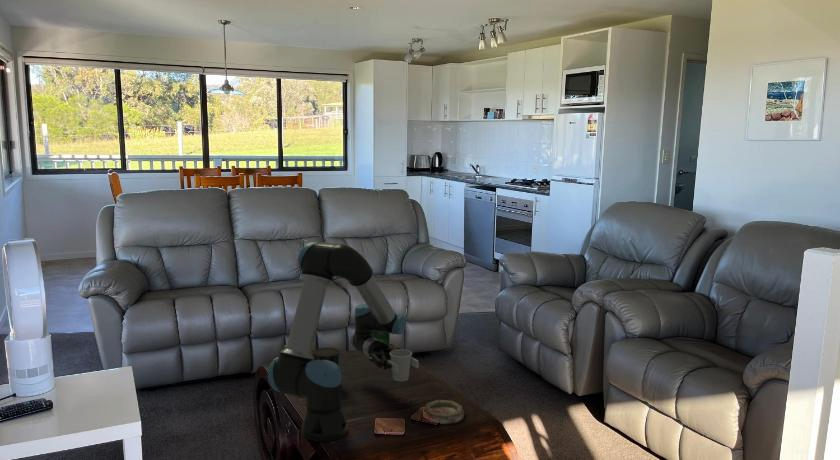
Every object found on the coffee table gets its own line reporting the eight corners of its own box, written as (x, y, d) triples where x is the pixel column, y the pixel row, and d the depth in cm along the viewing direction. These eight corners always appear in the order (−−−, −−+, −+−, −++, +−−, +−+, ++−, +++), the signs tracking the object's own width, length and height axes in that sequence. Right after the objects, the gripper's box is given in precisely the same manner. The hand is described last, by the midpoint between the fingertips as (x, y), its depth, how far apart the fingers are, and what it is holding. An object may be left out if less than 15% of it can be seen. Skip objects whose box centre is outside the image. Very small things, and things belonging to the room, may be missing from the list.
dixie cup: (409, 383, 218) (409, 357, 216) (387, 381, 219) (387, 355, 218) (414, 375, 226) (414, 349, 225) (392, 373, 228) (392, 348, 226)
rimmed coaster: (438, 427, 205) (438, 421, 205) (414, 411, 217) (414, 405, 217) (472, 416, 213) (472, 410, 213) (447, 402, 226) (447, 395, 225)
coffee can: (334, 391, 235) (334, 357, 233) (310, 389, 237) (309, 354, 235) (343, 381, 244) (343, 348, 243) (320, 379, 247) (319, 346, 245)
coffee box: (390, 357, 273) (390, 329, 272) (389, 359, 271) (389, 331, 269) (372, 356, 274) (372, 328, 272) (371, 358, 271) (371, 330, 269)
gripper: (398, 353, 243) (431, 371, 224) (352, 363, 231) (383, 382, 213) (398, 335, 242) (431, 351, 223) (352, 344, 230) (383, 362, 212)
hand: (407, 366), depth 218 cm, fingers closed on dixie cup, 8 cm apart
